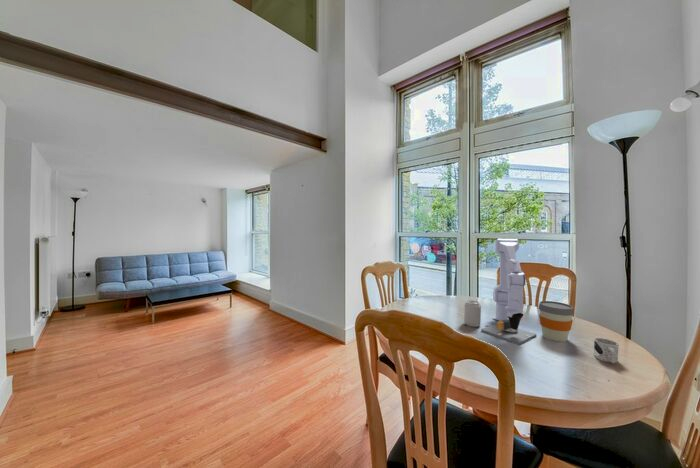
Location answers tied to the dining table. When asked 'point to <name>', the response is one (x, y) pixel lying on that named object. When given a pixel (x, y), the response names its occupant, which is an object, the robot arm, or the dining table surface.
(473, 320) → the white bottle
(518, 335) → the panel
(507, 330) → the black orange block
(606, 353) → the mug
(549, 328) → the reusable coffee cup
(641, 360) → the dining table surface
